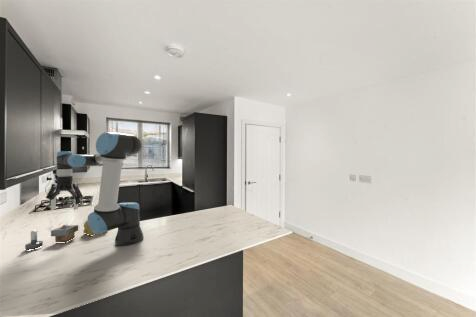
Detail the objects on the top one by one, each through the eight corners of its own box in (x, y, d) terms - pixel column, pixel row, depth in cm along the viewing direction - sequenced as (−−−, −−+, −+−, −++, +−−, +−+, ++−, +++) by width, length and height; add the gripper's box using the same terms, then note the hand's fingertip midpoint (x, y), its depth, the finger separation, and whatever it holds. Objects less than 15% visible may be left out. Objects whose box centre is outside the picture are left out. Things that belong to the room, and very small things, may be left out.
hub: (46, 245, 116) (45, 228, 116) (34, 251, 109) (33, 233, 109) (34, 246, 115) (33, 229, 116) (21, 251, 108) (21, 233, 109)
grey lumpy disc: (78, 230, 126) (78, 225, 126) (66, 235, 117) (66, 229, 117) (64, 231, 126) (63, 225, 126) (51, 236, 117) (50, 230, 117)
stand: (74, 239, 125) (74, 223, 125) (66, 243, 118) (65, 226, 118) (64, 239, 124) (64, 223, 125) (55, 243, 118) (55, 227, 118)
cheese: (83, 234, 132) (82, 220, 132) (100, 229, 142) (100, 215, 142) (91, 237, 127) (91, 221, 127) (108, 231, 137) (108, 217, 137)
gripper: (89, 175, 127) (89, 207, 127) (49, 175, 125) (49, 208, 125) (81, 176, 119) (81, 210, 119) (37, 176, 118) (37, 211, 118)
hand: (64, 209), depth 122 cm, fingers open, 13 cm apart
